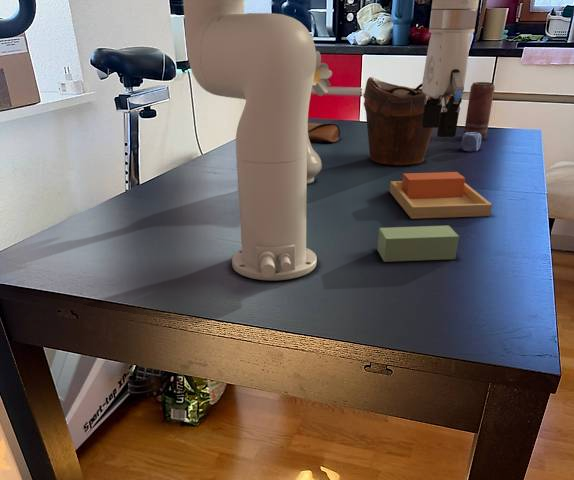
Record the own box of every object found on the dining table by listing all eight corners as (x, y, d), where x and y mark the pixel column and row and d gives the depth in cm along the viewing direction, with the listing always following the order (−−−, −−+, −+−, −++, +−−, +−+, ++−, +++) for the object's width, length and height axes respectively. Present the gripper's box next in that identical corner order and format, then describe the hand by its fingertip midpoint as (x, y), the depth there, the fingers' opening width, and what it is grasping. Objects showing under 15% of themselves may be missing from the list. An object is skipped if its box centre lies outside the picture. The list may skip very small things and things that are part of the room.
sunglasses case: (271, 139, 161) (274, 114, 161) (277, 148, 168) (280, 124, 168) (333, 142, 157) (337, 117, 157) (338, 151, 164) (341, 127, 164)
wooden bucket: (454, 164, 137) (466, 79, 127) (380, 172, 131) (387, 84, 121) (414, 149, 151) (422, 72, 141) (345, 156, 145) (349, 76, 135)
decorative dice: (475, 152, 147) (478, 135, 145) (460, 150, 149) (462, 134, 147) (479, 149, 150) (482, 132, 148) (464, 147, 152) (467, 131, 150)
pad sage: (455, 259, 87) (459, 236, 85) (383, 262, 86) (385, 238, 84) (445, 247, 91) (448, 225, 89) (377, 250, 91) (378, 227, 89)
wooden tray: (490, 216, 104) (492, 204, 103) (411, 218, 103) (412, 207, 102) (459, 189, 119) (460, 179, 118) (389, 191, 118) (390, 181, 117)
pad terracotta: (462, 197, 112) (465, 178, 110) (407, 198, 112) (409, 179, 110) (454, 190, 116) (457, 171, 114) (401, 191, 116) (402, 173, 114)
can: (458, 137, 163) (465, 82, 155) (475, 135, 165) (484, 81, 157) (472, 141, 158) (481, 84, 150) (490, 139, 160) (500, 83, 153)
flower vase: (333, 171, 133) (337, 45, 119) (322, 193, 118) (325, 52, 104) (278, 169, 135) (276, 46, 121) (260, 190, 120) (255, 52, 106)
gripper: (417, 21, 104) (406, 124, 113) (446, 23, 89) (431, 140, 99) (457, 21, 104) (443, 124, 114) (493, 23, 90) (474, 140, 99)
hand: (437, 131), depth 106 cm, fingers open, 9 cm apart
